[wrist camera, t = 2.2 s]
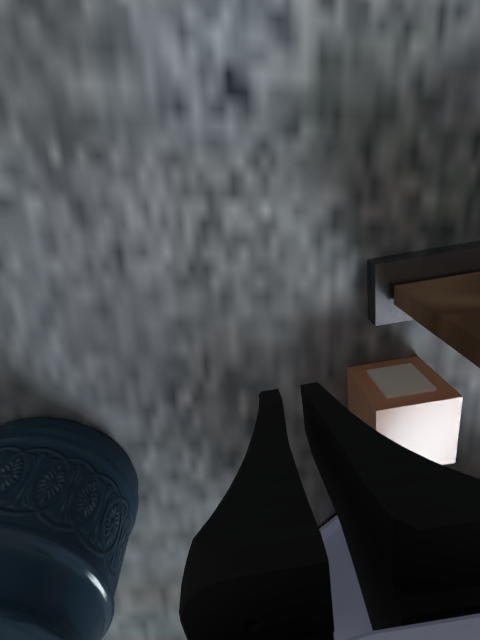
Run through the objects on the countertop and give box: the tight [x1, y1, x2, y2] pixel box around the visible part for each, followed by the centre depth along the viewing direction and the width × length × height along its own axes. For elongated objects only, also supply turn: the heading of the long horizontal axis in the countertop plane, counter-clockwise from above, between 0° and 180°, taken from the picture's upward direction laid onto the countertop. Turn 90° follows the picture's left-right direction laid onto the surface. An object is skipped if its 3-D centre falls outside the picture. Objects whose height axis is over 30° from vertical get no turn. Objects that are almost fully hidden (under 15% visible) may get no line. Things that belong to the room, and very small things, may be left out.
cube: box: [347, 356, 463, 465], centre depth 23 cm, size 5×5×5 cm
